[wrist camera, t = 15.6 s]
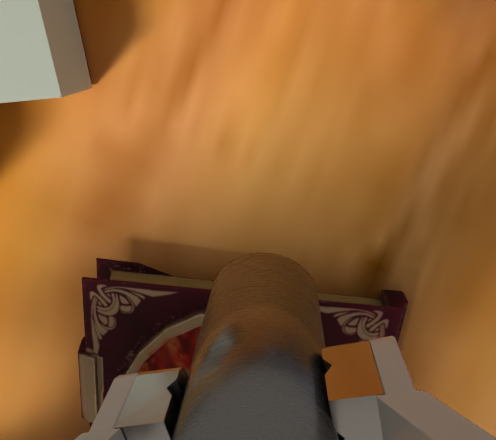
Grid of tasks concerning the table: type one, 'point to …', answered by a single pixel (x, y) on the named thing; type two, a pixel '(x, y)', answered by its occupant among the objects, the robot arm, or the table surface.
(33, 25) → the sliding block
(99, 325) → the book
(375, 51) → the table surface
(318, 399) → the dowel
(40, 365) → the table surface
